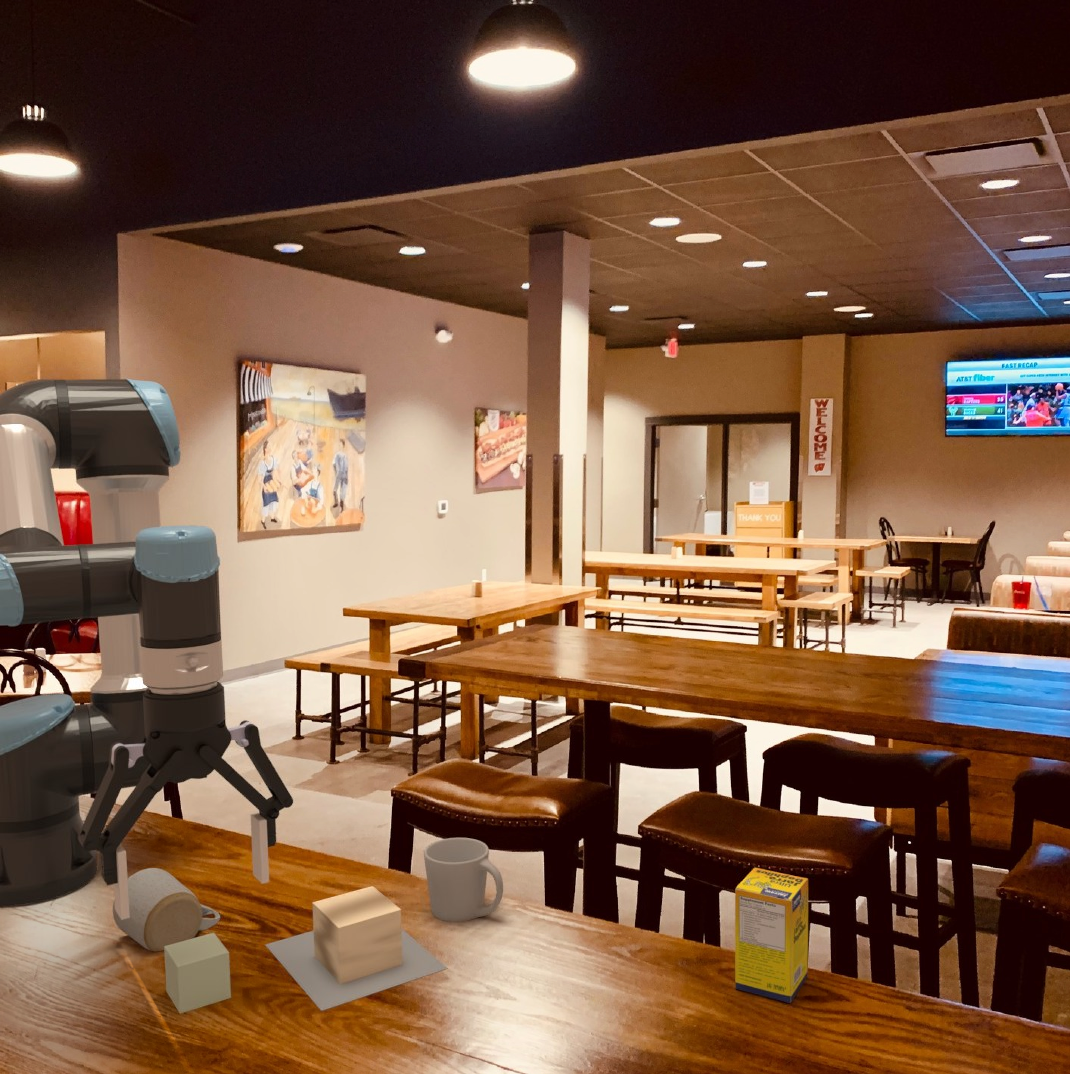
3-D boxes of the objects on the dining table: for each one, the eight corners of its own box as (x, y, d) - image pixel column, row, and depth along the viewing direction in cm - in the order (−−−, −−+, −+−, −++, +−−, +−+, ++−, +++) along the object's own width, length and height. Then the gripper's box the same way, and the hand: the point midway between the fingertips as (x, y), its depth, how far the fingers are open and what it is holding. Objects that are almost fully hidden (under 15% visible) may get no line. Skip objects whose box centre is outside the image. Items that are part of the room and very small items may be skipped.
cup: (450, 899, 128) (448, 832, 127) (519, 918, 123) (518, 848, 122) (412, 925, 121) (410, 855, 121) (483, 946, 116) (482, 872, 115)
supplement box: (808, 978, 109) (809, 877, 108) (791, 1005, 104) (792, 900, 103) (753, 963, 112) (754, 865, 111) (733, 989, 107) (734, 887, 106)
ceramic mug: (146, 968, 112) (143, 899, 112) (112, 943, 118) (110, 877, 117) (234, 935, 120) (233, 870, 119) (199, 913, 126) (197, 851, 125)
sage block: (166, 1002, 106) (164, 946, 105) (216, 987, 108) (213, 932, 108) (180, 1025, 102) (177, 967, 101) (231, 1009, 104) (228, 952, 104)
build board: (265, 955, 115) (265, 944, 115) (381, 920, 123) (381, 910, 123) (321, 1022, 102) (321, 1010, 102) (447, 979, 109) (447, 968, 109)
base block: (314, 956, 112) (312, 902, 112) (374, 937, 116) (372, 886, 115) (340, 984, 106) (338, 927, 106) (402, 964, 110) (401, 909, 110)
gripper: (50, 713, 92) (65, 945, 93) (319, 673, 105) (327, 877, 107) (37, 696, 98) (51, 915, 100) (292, 661, 112) (300, 854, 113)
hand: (194, 895), depth 103 cm, fingers open, 13 cm apart
